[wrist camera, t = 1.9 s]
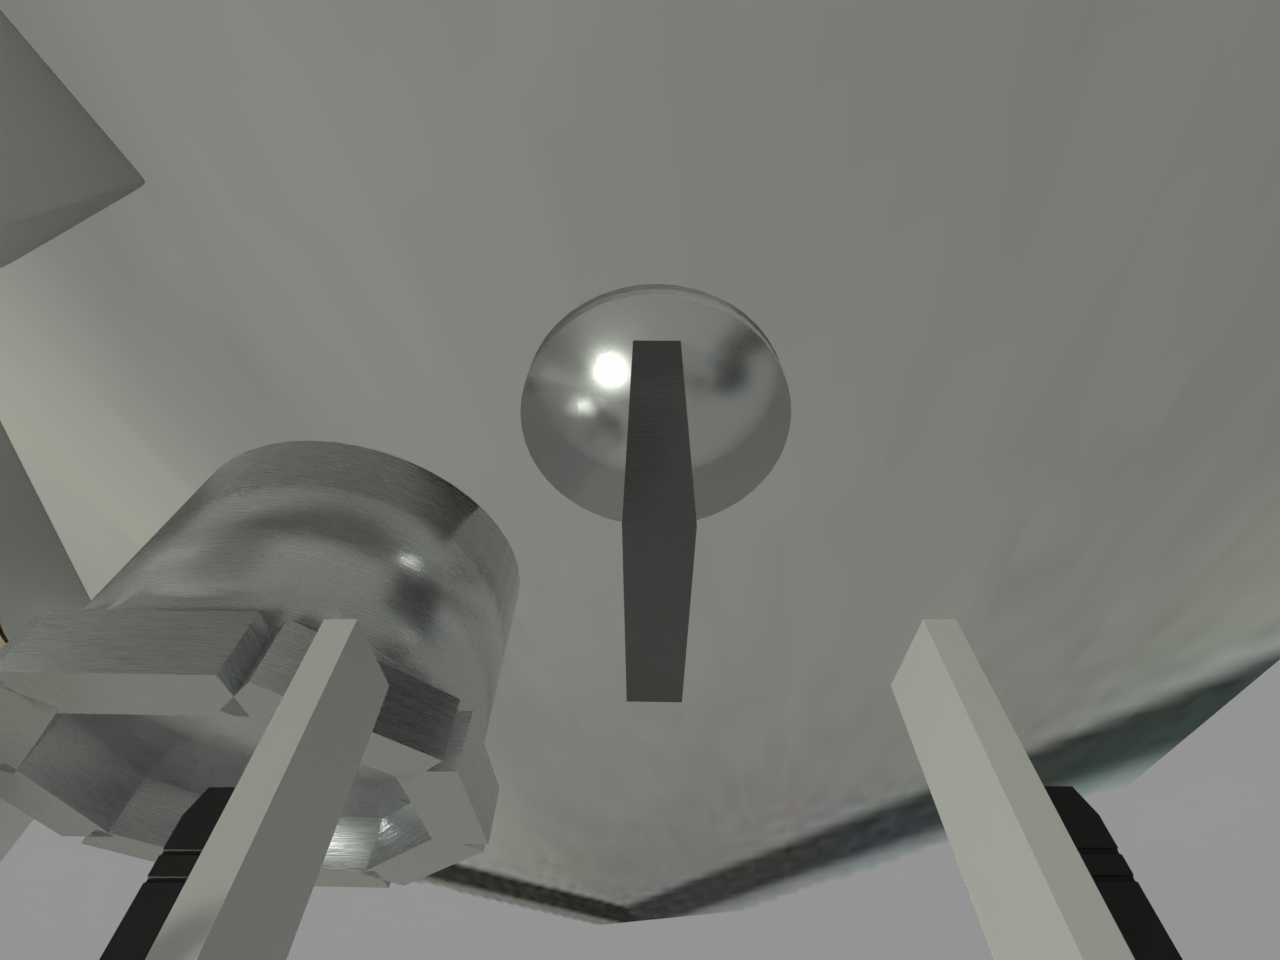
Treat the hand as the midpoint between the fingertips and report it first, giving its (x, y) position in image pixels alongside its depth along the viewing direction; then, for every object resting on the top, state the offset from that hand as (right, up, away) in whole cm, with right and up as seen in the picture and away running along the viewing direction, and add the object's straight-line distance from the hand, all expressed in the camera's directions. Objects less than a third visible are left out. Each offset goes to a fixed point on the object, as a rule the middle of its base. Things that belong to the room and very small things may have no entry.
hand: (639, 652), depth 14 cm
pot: (-13, -2, +16) cm, 21 cm away
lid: (+1, +7, +8) cm, 11 cm away
